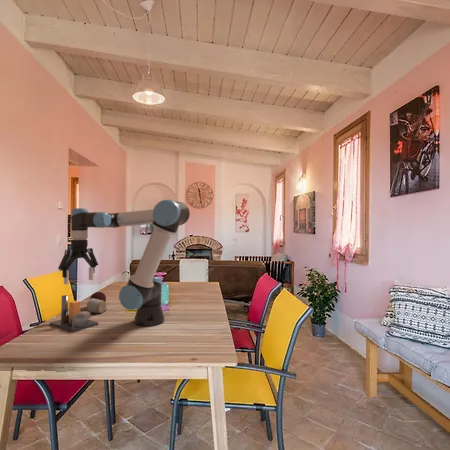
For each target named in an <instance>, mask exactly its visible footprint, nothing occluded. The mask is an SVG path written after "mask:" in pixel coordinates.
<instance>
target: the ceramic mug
mask: <svg viewBox="0 0 450 450" xmlns="http://www.w3.org/2000/svg"><path fill="white" fill-rule="evenodd" d="M105 311H108V307H107V303H106V302H104V301H103V300H98V299H94V298H92V299H90V298H89V300H88V301H87V303H86V312H89V313H95V314H102V313H104V312H105Z"/></svg>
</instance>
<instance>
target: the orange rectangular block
mask: <svg viewBox="0 0 450 450" xmlns="http://www.w3.org/2000/svg"><path fill="white" fill-rule="evenodd" d="M79 312H81V301H78V300H74V301H68V315H69V323H70V319H71V318H72V316H73V315H77V314H78V313H79Z"/></svg>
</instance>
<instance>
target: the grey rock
mask: <svg viewBox="0 0 450 450" xmlns="http://www.w3.org/2000/svg"><path fill="white" fill-rule="evenodd" d="M91 313H92V312H88V311H84V310H83V311H80V312H79V313H78V314H77V315H73V316H72V326H73V327H74V326H77V325H81V324H84V323H87V322H88V321H89V320H90V319H91V318H92V317H91Z"/></svg>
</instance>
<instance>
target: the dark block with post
mask: <svg viewBox="0 0 450 450" xmlns="http://www.w3.org/2000/svg"><path fill="white" fill-rule="evenodd" d="M60 310H61V312H60V313H61V314H60V315H61V317H60V319H59V320H53V321H51V322H49V326H52V327H56V328H59V329H62V330H65V331H68V332H71V333H75V332H79V331H82V330H85V329H89V328H92V327H94V326H99V322H98V321H95V320H91V319H89V321H88V322H87V323H84V324H81V325H77V326H74V327H73V326H72V318H71V319H70V323H69V294H68V295H67V294H65V295H64V294H63V295H61V309H60Z"/></svg>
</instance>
